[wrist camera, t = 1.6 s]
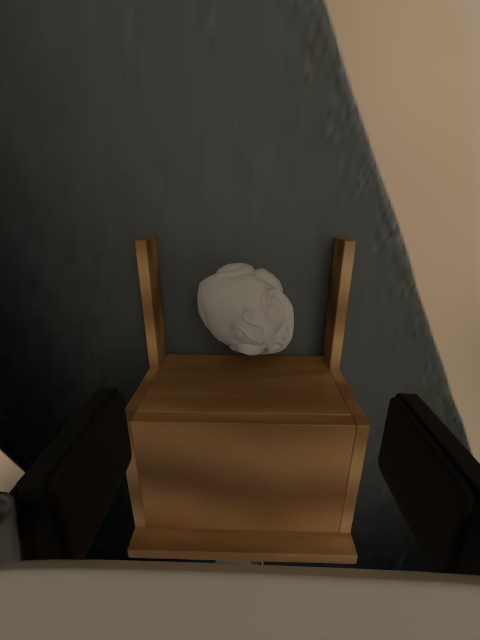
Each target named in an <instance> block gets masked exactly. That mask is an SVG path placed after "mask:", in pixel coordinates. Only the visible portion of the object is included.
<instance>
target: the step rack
mask: <svg viewBox="0 0 480 640" xmlns="http://www.w3.org/2000/svg"><path fill="white" fill-rule="evenodd" d="M355 246H356V241H355V240H352V239H349V238H346V237H336V238H335V243H334V252H333V262H332V271H331V280H330V290H329V299H328V308H327V318H326V327H325V336H324V345H323V356H292V355H207V354H167V351H166V340H165V330H164V319H163V309H162V298H161V288H160V277H159V266H158V256H157V245H156V237H144V238H140V239H137V240H135V248H136V256H137V264H138V273H139V281H140V290H141V298H142V307H143V315H144V323H145V332H146V340H147V349H148V357H149V365H150V368H149V370H148V372H147V373H146V375H145V377H144V378H143V380H142V382H141V383H140V385H139V387H138V388H137V390H136V391H135V393H134V395H133V396H132V398H131V400H130V401H129V403H128V405H127V406H126V408H125V411H126V417H127V424H128V430H129V437H130V443H131V450H132V458H131V462H130V464H129V466H128V469H127V471H126V476H127V481H128V487H129V493H130V498H131V504H132V510H133V516H134V521H135V530H134V532H133V535H132V538H131V541H130V544H129V547H128V555H129V557H132V558H168V559H204V560H240V561H276V562H312V563H348V564H356V561H357V553H356V549H355V546H354V543H353V540H352V537H351V533H350V531H351V525H352V520H353V515H354V509H355V504H356V499H357V493H358V488H359V482H360V477H361V472H362V466H363V461H364V456H365V450H366V445H367V440H368V434H369V429H370V425H369V423H368V421H367V420H366V418H365V416H364V414H363V412H362V411H361V409H360V407H359V405H358V403H357V402H356V400H355V398H354V396H353V394H352V393H351V391H350V389H349V387H348V385H347V384H346V382H345V380H344V378H343V376H342V375H341V373H340V371H339V368H340V360H341V352H342V345H343V337H344V330H345V322H346V314H347V307H348V299H349V292H350V284H351V276H352V269H353V261H354V254H355Z"/></svg>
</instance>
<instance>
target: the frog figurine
mask: <svg viewBox="0 0 480 640" xmlns="http://www.w3.org/2000/svg"><path fill="white" fill-rule="evenodd" d="M197 301H198V312H199V315H200V317H201V319H202V320H203V322H204V324H205V326H206V327H207V328H208V329H209V330H210V331H211V333H212V334H213V336H215V338H217V339H218V340H219V341H221V342H222V343H224V344H226V345H228V346H229V347H230V349H232V350H234V351H236V352H240V353H244V354H247V355H258V354H273V353H277V352H280V351H282V350H283V349H284V348H285V347H286V346H287V345H288V344H289V343H290V341H291V339H292V335H293V327H294V313H293V307H292V305H291V302H290V301H289V299H288V297H287V296H285V295H284V294H283V288H282V285H281V283H280V281H279V280H278V279H277V278H276V277H275V276H274V275H273V274H272V273H270V272H268V271H267V270H265V269H261V268H260V269H257V270H255V269H254V268H253V267H252V266H251V265H248V264H245V263H233V264H226V265H224V266H223V267H221V268H220V269H219V270H218V271H217V272H216V274H214V275H211V276H209V277H207V278H206V279H204V280H203V281H201V282H200V284H199V288H198V294H197Z"/></svg>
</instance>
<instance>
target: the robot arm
mask: <svg viewBox="0 0 480 640" xmlns="http://www.w3.org/2000/svg"><path fill="white" fill-rule="evenodd" d="M131 458H132V450H131V443H130V437H129V430H128V424H127V417H126V411H125V404H124V398H123V394H122V393H121V392H118V390H117V388H98V389H97V390H96V391H95V393H94V394H93V395H92V396H91V397H90V398H89V399H88V401H87V402H86V403H85V404H84V405H83V406H82V408H81V409H80V410H79V411H78V412H77V413H76V415H75V416H74V417H73V418H72V419H71V420H70V422H69V423H68V424H67V425H66V426H65V427H64V429H63V430H62V431H61V432H60V433H59V434H58V436H57V437H56V438H55V439H54V440H53V441H52V443H51V444H50V445H49V446H48V447H47V448H46V450H45V451H44V452H43V453H42V454H41V455H40V456H39V458H38V459H37V460H36V461H35V462H34V463H33V465H32V466H31V467H30V468H29V469H28V470H27V472H26V473H25V474H24V475H23V476H22V477H21V479H20V480H19V481H18V482H17V484H16V485H15V487H14V488H13V489H12V490H11V491H10V492H9V493H7V492H0V640H480V464H479V462H478V461H477V460H476V459H475V458H474V457H473V456H472V455H471V454H470V452H469V451H468V450H467V449H466V448H465V447H464V446H463V445H462V444H461V443H460V441H459V440H458V439H457V438H456V437H455V436H454V435H453V434H452V433H451V431H450V430H449V429H448V428H447V427H446V426H445V425H444V424H443V423H442V421H441V420H440V419H439V418H438V417H437V416H436V415H435V414H434V413H433V412H432V410H431V409H430V408H429V407H428V406H427V405H426V404H425V403H424V402H423V400H422V399H421V398H420V397H419V396H418V395H417V394H405V393H398V394H396V396H395V398H391V399H390V403H389V408H388V413H387V418H386V423H385V428H384V433H383V438H382V443H381V448H380V453H379V458H378V463H379V468H380V471H381V473H382V475H383V477H384V479H385V481H386V483H387V485H388V487H389V489H390V491H391V493H392V495H393V497H394V499H395V501H396V503H397V505H398V507H399V509H400V511H401V513H402V515H403V517H404V519H405V521H406V523H407V525H408V527H409V529H410V531H411V533H412V535H413V537H414V539H415V541H416V543H417V545H418V547H419V549H420V551H421V553H422V555H423V557H424V559H425V561H426V563H427V565H428V567H429V569H430V571H431V573H430V572H414V571H391V570H369V569H346V568H323V567H298V566H272V565H245V564H218V563H188V562H156V561H124V560H84V558H85V556H86V554H87V552H88V550H89V548H90V546H91V544H92V542H93V540H94V538H95V535H96V533H97V531H98V529H99V527H100V525H101V523H102V521H103V519H104V517H105V515H106V512H107V510H108V508H109V506H110V504H111V502H112V500H113V498H114V496H115V494H116V492H117V489H118V487H119V485H120V483H121V481H122V479H123V477H124V475H125V473H126V471H127V469H128V466H129V464H130V462H131Z"/></svg>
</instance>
